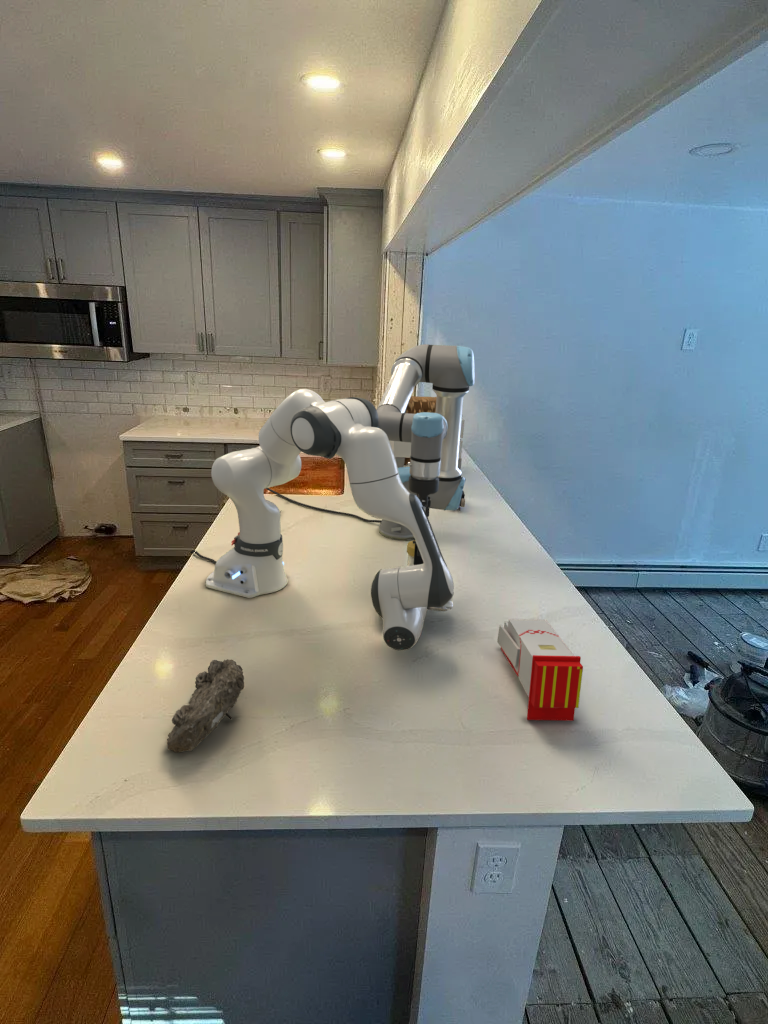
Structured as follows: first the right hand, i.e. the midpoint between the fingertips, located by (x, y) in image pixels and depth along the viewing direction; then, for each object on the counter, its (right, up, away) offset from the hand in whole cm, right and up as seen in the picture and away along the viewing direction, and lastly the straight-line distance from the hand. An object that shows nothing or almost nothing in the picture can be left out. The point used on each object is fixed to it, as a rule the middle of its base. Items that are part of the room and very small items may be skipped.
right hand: (418, 560), depth 149 cm
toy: (+23, -24, -25) cm, 42 cm away
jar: (-1, -12, +4) cm, 13 cm away
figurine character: (+20, +15, +81) cm, 85 cm away
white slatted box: (+8, +31, +126) cm, 130 cm away
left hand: (0, -6, +3) cm, 6 cm away
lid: (0, +4, -1) cm, 4 cm away
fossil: (-42, -26, -41) cm, 64 cm away
